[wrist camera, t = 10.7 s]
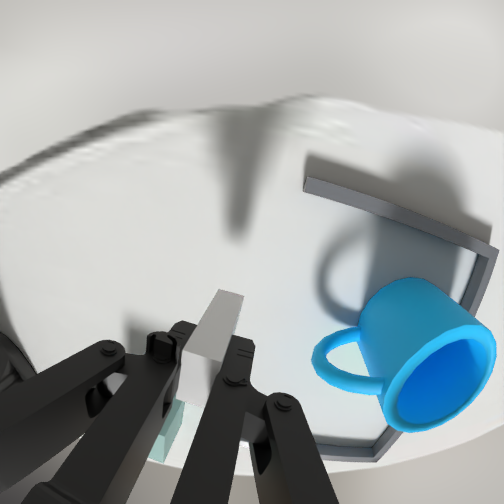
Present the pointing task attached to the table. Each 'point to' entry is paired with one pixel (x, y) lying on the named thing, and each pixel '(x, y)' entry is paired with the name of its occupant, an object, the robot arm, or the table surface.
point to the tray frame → (427, 225)
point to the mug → (414, 355)
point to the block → (168, 431)
